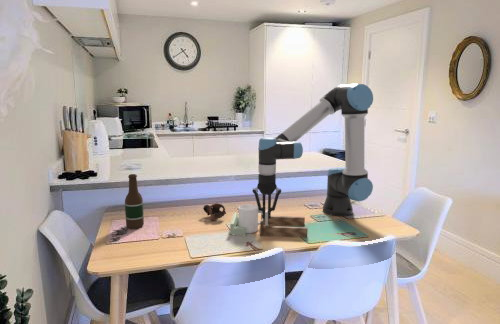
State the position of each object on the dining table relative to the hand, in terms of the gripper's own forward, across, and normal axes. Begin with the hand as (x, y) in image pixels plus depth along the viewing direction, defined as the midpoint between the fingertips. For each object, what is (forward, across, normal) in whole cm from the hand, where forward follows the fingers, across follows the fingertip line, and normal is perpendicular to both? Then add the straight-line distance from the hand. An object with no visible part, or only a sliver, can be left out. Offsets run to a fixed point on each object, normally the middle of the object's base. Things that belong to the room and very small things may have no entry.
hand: (266, 225), depth 159 cm
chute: (+2, -7, 0) cm, 8 cm away
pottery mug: (+2, +26, -14) cm, 29 cm away
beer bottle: (+2, +60, 0) cm, 60 cm away
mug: (+2, +7, 0) cm, 7 cm away
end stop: (+2, +12, 0) cm, 12 cm away
